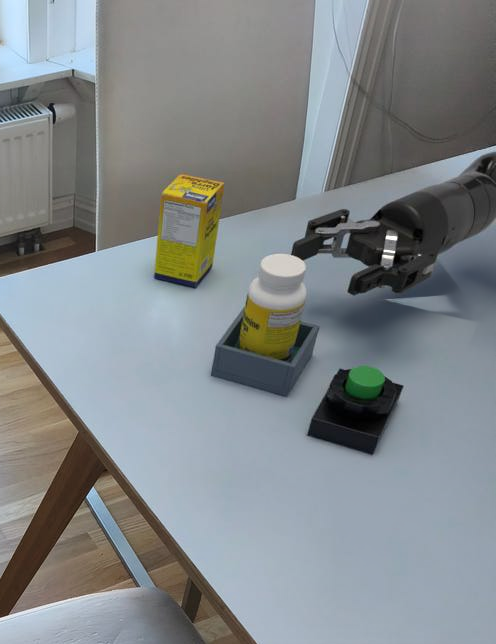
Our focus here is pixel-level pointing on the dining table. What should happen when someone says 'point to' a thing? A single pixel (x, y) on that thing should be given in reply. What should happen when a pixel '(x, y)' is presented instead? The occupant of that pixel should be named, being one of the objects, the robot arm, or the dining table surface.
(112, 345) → the dining table surface
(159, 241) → the supplement box
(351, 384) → the button
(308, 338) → the basket
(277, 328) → the pill bottle
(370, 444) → the control block
